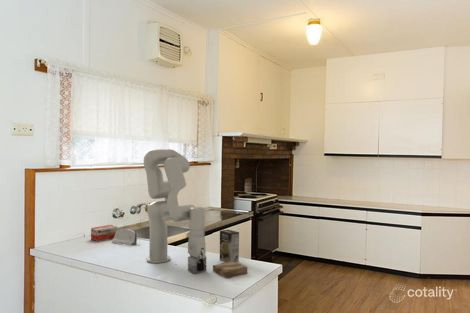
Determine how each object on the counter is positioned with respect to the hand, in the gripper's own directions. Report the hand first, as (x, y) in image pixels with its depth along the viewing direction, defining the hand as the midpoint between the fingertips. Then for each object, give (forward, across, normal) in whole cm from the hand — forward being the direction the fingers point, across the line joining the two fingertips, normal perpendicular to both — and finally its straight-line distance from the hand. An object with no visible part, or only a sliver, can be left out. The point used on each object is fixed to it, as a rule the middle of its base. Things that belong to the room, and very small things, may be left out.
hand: (197, 268), depth 173 cm
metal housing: (+1, 0, 0) cm, 1 cm away
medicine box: (+2, -95, -18) cm, 96 cm away
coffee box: (+1, -4, +22) cm, 22 cm away
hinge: (+2, -75, -10) cm, 76 cm away
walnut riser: (+1, +11, +12) cm, 16 cm away
